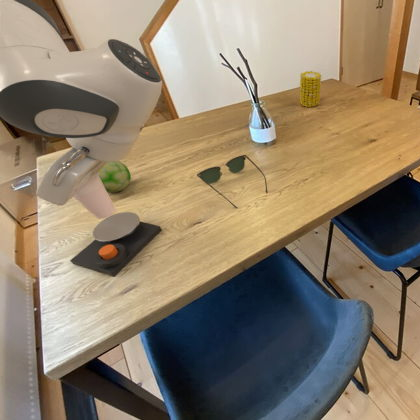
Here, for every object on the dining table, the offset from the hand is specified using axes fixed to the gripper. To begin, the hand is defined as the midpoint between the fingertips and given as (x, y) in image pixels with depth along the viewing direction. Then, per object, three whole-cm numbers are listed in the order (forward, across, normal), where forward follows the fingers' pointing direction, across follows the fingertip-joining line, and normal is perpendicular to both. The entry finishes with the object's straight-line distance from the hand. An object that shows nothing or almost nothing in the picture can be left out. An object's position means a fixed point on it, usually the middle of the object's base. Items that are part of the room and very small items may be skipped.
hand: (79, 182), depth 52 cm
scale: (+17, +2, -12) cm, 21 cm away
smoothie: (+5, 0, -6) cm, 8 cm away
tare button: (+14, -3, -11) cm, 18 cm away
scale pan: (+16, +5, -9) cm, 19 cm away
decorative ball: (+26, +24, -3) cm, 36 cm away
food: (-14, +89, -44) cm, 100 cm away
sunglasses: (0, +24, -29) cm, 38 cm away
